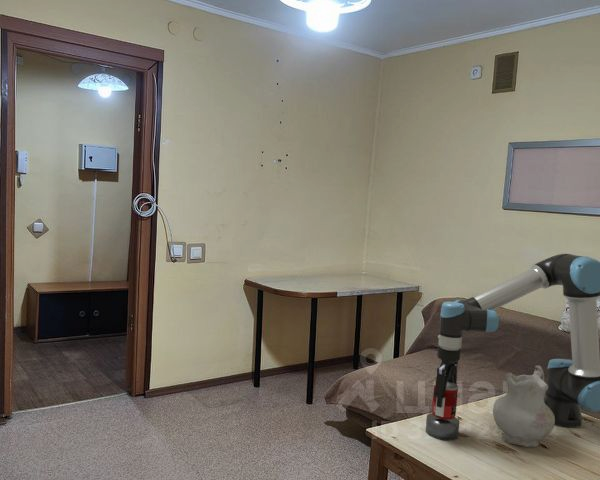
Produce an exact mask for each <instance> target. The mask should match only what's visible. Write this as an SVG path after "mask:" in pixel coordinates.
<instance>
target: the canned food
mask: <svg viewBox="0 0 600 480" xmlns="http://www.w3.org/2000/svg"><path fill="white" fill-rule="evenodd" d="M433 383H434V384H433V392H432V403H431V404H432V405H431V413H432V414H433V415H434V416H435V417H437V418H440V419H445V420H450V419H454V418H455V417H456V415H457V402H458V395H459V394H458V393H459V386H458V384H457V385H456V384H455V383H451V382H447V386H446V390H445V395H444V398H445V406H444V417H441V416H437V415H435V410H436V398H437V397H435V396H434V392H435V385H436V381H434V382H433Z"/></svg>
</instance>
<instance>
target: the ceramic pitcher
mask: <svg viewBox="0 0 600 480" xmlns="http://www.w3.org/2000/svg"><path fill="white" fill-rule="evenodd" d="M504 378H505V381H506V385H507V393H506V394H505V395H504V396H501V397H499V398H497V399H496V400H495V401H494V403H493V406H492V407H493V408H492V416H493V420H494V422H495V424H496V426H497V428H498V429H499V430H500V431H501V432H503V433H502V435H501V437H500V438H501V440H502V442H504V443H506V444H507V443H508V444H512V445H518V446H521V447H526V448H536V447H539V446H540V443H539V441H541V440H544V439H545V438H547V437H548V436H549V435H550V434H551V432H552V431H553V429H554V426H555V417H554V414H553V412H552V411H551V410H550V408H549V407H548V406H547V405H546V404H545V402H544V397H545V392H546V391H547V389H548V385H547V384H546V382H545V373H544V369H543V367H542V366H541V365H539V364H538V365H537V364H536V365H535V366H534V371H533V374H532V375H531V374H530V375H529V374H528V375H527V374H521V375H518V376H516V375H515V374H513V373H512V372H509V371H505V374H504Z"/></svg>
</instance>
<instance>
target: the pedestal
mask: <svg viewBox="0 0 600 480" xmlns="http://www.w3.org/2000/svg"><path fill="white" fill-rule="evenodd" d="M425 421H426V422H425V434H427V435H428V436H430V437H431V438H433V439H436V440H439V441H440V440H441V441H448V442H449V441H454V440H457V439H458V438H459V432H460V419H458V418H457V416H455V418H454V419H450V420H445V419H440V418H437V417H435V416H434V415H433V414H432V412H431V413H428V414H427V415H426V420H425Z"/></svg>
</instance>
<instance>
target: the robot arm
mask: <svg viewBox="0 0 600 480" xmlns="http://www.w3.org/2000/svg"><path fill="white" fill-rule="evenodd" d="M554 286H562V293H563V295H562V296H563V297H565V298H566V299H567V300H568V311H569V313H568V314H569V329H570V344H571V345H570V347H571V359H565V358H553V359H550V360H549V361H548V365H547V372H546V373H547V374H546V382H545V383H546V384H547V385H548V389H547V391H546V392H545V394H544V402H545V404H546V405H547V406H548V407H549V408H550V410H551V411H552V412H553V414H554V417H555V424H554V426H558V427H559V426H560V427H563V428H579V427H581V426H582V424H583V415H582V411H581V408H582V409H585V410H587V411H590V412H592V413H593V412H594V413H599V412H600V341H599V339H600V338H599V321H598V319H599V318H598V304H597V300H598V299H599V298H600V261H599V260H598V259H594V258H592V257H589V256H583V255H576V254H571V253H560V254H559V253H558V254H555V255H553V256H550V257H548V258H545V259H542V260H541V261H539V262H536V263H535V264H532V265H531V266H530V269H528V270H526V271H524V272H522V273H520V274H517V275H516V276H514V277H512V278H509V279H507V280H506V281H503V282H501V283H499V284H497V285H495V286H493V287H491V288H488V289H486V290H484V291H482V292H480V293H478V294H475V295H474V296H472V297H469V298H467V299H465V300H464V299H457V300H455V301H445V302H443V303H442V304H441V309H440V314H439V315H440V316H439V317H440V319H439V331H438V334H439V335H437V339H438V347H437V353H436V355H437V356H436V357H437V358H438V359H440V360H441V363H440V366H438V367H437V368H436V379H435V382H436V385H435V392H434V396H435V397H437V398H436V410H435V415H437V416H441V417H444V406H445V398H444V395H445V390H446V386H447V382H451V383H455V384H456V385H457V386H458V384H457V383H458V381H457V380H458V364H459V361H460V359H461V348H462V341H463V340H462V339H463V332H475V333H476V332H480V333H493V332H496V331H497V330H498V328H499V325H500V323H499V322H500V320H499V315H498V313H497V312H496V311H495V310H496V309H499V308H500V307H503V306H505V305H507V304H510V303H512V302H513V301H516V300H518V299H520V298H523V297H524V296H526V295H528V294H531V293H532V292H535V291H536V290H539V289H541V288H542V289H548V288H550V287H554Z"/></svg>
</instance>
